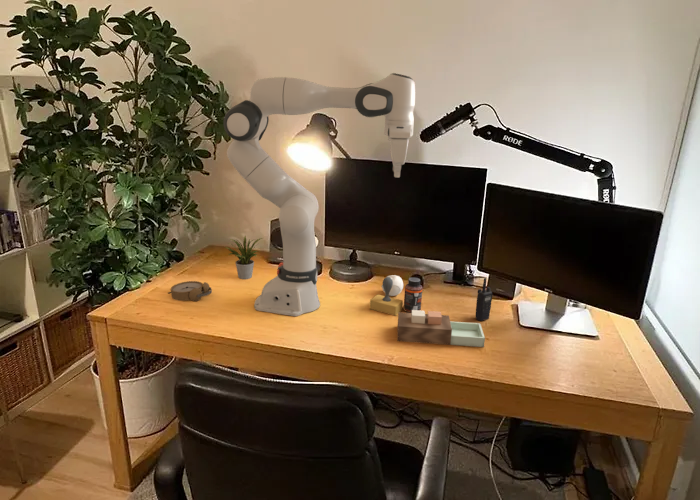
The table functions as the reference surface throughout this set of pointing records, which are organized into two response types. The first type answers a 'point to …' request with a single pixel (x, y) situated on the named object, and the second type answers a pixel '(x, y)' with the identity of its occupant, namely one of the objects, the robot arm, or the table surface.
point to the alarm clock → (190, 290)
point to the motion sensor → (395, 285)
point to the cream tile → (418, 316)
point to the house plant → (244, 259)
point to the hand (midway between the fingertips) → (396, 174)
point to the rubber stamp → (386, 300)
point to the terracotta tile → (434, 317)
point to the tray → (467, 334)
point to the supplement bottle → (413, 295)
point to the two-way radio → (483, 303)
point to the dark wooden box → (423, 330)
